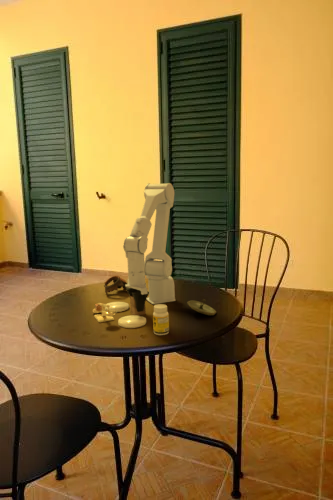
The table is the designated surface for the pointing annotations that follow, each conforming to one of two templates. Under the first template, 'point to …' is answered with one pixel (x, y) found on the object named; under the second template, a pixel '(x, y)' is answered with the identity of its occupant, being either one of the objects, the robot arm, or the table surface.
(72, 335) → the table surface
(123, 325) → the cream round disc
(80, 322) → the table surface
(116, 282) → the brown segmented ring
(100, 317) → the balance
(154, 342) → the table surface
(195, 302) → the lid
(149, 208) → the robot arm
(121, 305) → the dish low side
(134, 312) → the block
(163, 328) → the supplement bottle
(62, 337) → the table surface
